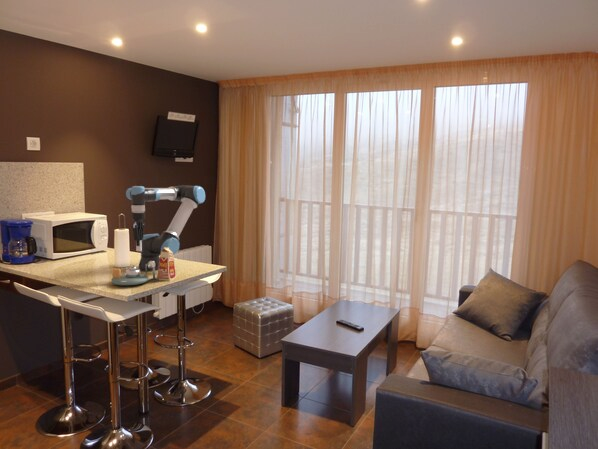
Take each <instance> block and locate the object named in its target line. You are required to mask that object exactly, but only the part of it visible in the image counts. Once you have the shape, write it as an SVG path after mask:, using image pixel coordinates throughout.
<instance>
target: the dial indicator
mask: <svg viewBox="0 0 598 449" xmlns="http://www.w3.org/2000/svg"><path fill="white" fill-rule="evenodd" d="M155 266H156V264H155V261H150V262H148V267H149V268H151V269H152V268H153V271H152V278H150V279H148V281H149V282H150V283H151V282H153V283H156V282H158V281H160V280H159V279H157V277H156V270H155ZM147 272H148V271H147V269H146V271H145V275H146V276H148V274H147Z"/></svg>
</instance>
